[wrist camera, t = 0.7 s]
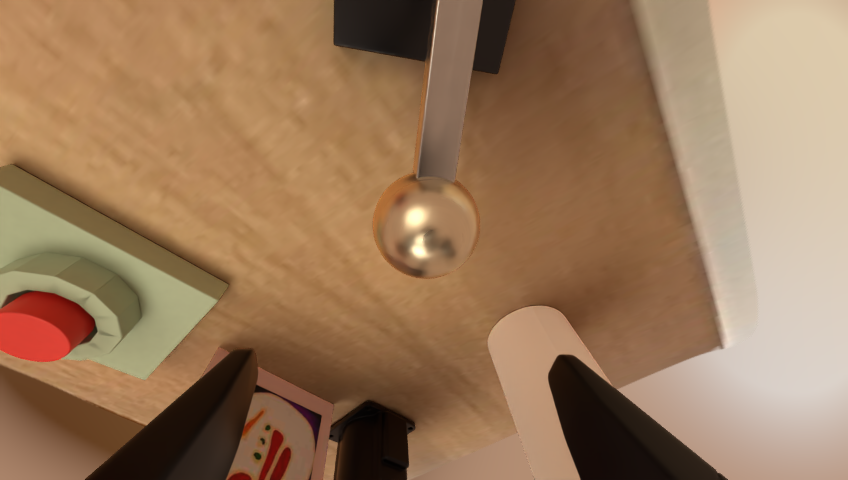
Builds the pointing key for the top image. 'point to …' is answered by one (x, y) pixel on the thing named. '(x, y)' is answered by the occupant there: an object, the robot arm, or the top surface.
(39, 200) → the button housing
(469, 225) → the lever
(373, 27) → the switch bracket
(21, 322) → the button
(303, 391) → the greeting card
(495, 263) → the top surface
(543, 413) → the cylindrical container
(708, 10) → the top surface
